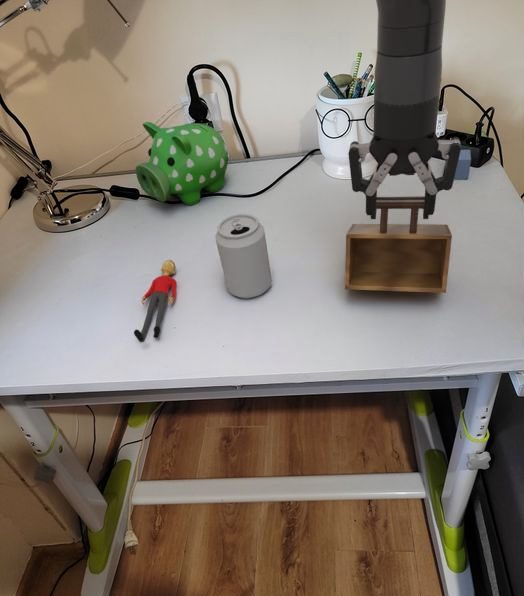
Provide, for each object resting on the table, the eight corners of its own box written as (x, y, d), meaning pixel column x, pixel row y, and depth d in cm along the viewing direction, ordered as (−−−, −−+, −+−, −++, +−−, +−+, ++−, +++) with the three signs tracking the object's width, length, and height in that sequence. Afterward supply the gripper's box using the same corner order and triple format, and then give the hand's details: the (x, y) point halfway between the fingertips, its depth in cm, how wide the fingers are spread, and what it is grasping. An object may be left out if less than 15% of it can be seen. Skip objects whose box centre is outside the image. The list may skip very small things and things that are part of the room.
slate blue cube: (466, 169, 100) (470, 149, 97) (467, 179, 97) (471, 159, 94) (445, 169, 100) (447, 150, 98) (445, 179, 98) (448, 160, 95)
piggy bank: (140, 201, 109) (116, 132, 98) (206, 167, 116) (191, 98, 105) (178, 223, 100) (156, 150, 90) (246, 184, 107) (234, 112, 97)
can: (233, 306, 80) (218, 243, 72) (223, 279, 86) (208, 217, 77) (278, 293, 81) (268, 229, 73) (265, 267, 86) (255, 205, 78)
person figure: (128, 321, 75) (156, 249, 87) (129, 339, 77) (155, 267, 90) (163, 328, 75) (185, 254, 87) (162, 345, 78) (184, 272, 90)
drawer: (442, 277, 78) (451, 190, 74) (445, 293, 70) (456, 197, 66) (350, 274, 82) (353, 191, 77) (344, 289, 74) (347, 198, 69)
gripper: (341, 106, 59) (345, 231, 71) (474, 97, 55) (454, 230, 67) (348, 83, 64) (350, 203, 76) (469, 75, 61) (452, 202, 72)
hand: (399, 216), depth 71 cm, fingers closed on drawer, 6 cm apart
